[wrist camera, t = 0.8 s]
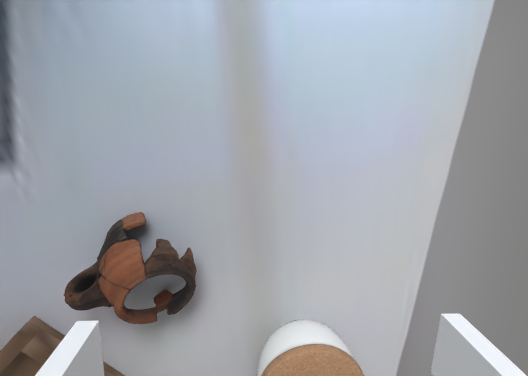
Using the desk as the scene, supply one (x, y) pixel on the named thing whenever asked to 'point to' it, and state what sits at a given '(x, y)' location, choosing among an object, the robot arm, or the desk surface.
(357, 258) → the desk surface
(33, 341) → the walnut tray
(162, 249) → the broken clay pot
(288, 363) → the lidded jar
